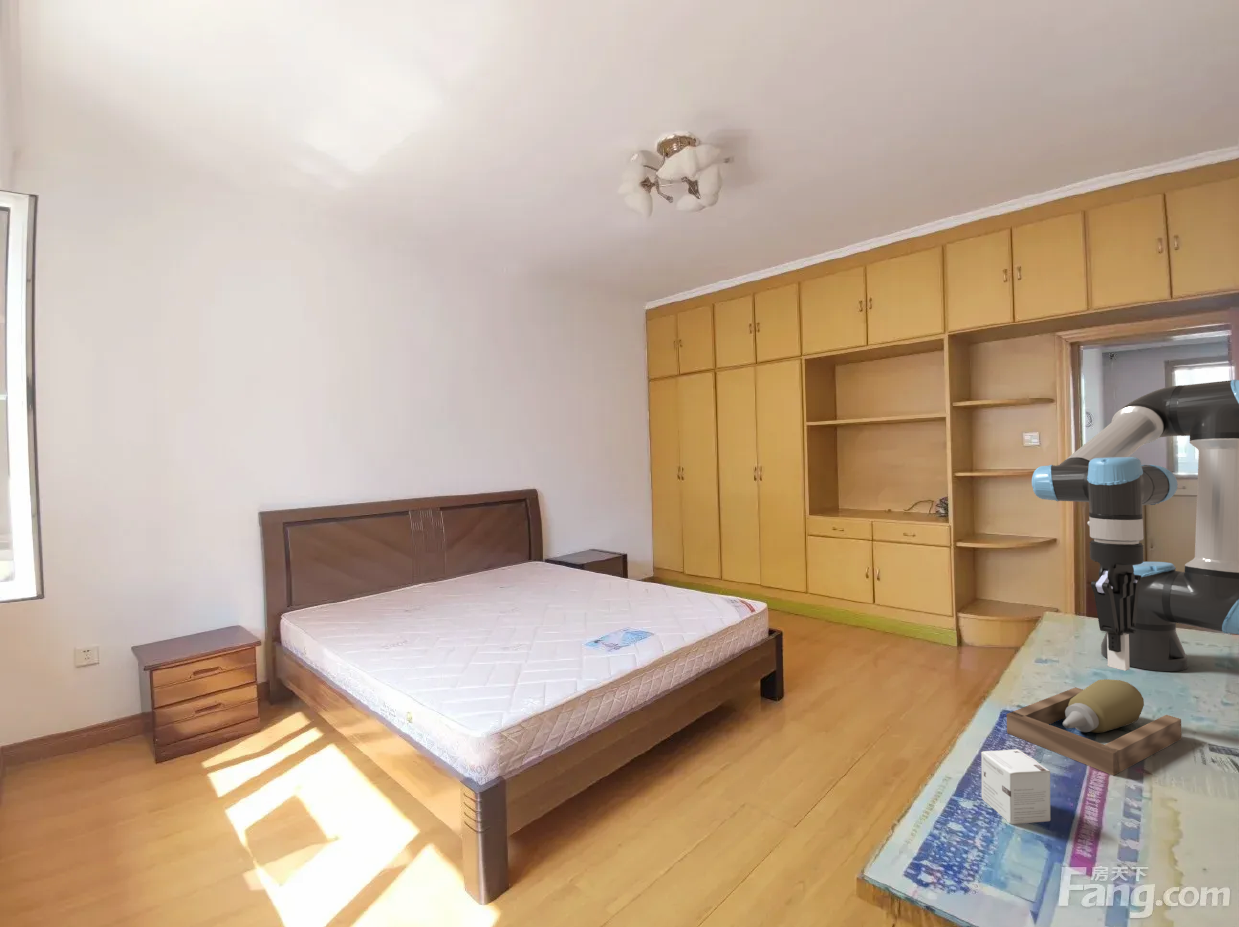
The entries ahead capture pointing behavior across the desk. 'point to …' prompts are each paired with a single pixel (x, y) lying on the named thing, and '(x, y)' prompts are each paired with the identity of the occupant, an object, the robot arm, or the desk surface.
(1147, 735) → the bottle rest
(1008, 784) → the skincare box
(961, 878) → the desk surface
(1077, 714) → the squeeze bottle
